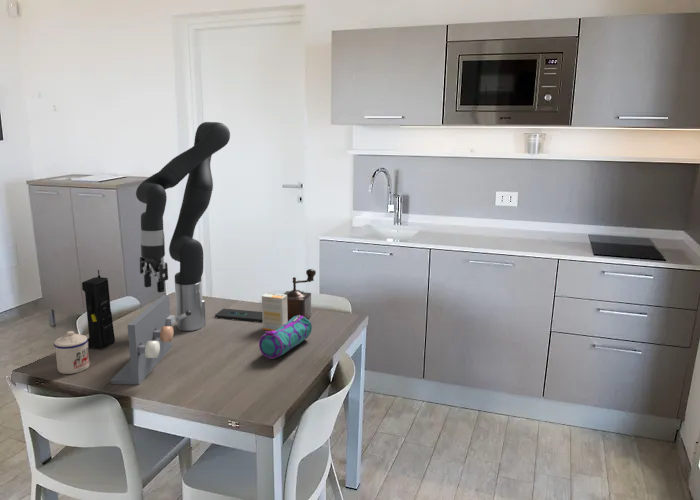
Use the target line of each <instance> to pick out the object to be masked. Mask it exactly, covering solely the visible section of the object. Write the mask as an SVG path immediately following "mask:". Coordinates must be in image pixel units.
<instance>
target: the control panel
mask: <svg viewBox="0 0 700 500" xmlns="http://www.w3.org/2000/svg"><path fill="white" fill-rule="evenodd" d="M170 302H171V301H170V295H169V294H162V295H161V296H160V297H159V298H158V299H157V300H155V301H154V302H153V303H152V304H151V305H149V306H148V307H147V308H146V309H144V310H143V311H142V312H141V313H140V314H138V316H136V317H135V318H134V319H133V320H132V321H130V322H129V323H128V324H127V334H128V346H129V347H128V348H129V349H128V351H129V361H128V363H126V364H125V365H124V366H123V367H122V368H121V369H120V370H119V371H118V372H117V373H116V374H115V375H114V376H113V377H112V378H111V379H110V381H111V383H110V384H113V385H140V384H141V383H142V382H143V381H144V380H145V379H146V377H147V376H148V375H149V374H150V372H152V370H153V369H154V368H155V367H156V366H157V364H159V362H160V361H161V360H162V359H163V358H164V357H165V355H166V354H167V353H168V352H169V351H170V350H171V348H173V340H172V341H171V342H161V340H160V338H153V331H154V330H161V328H162V327H163V326H172V327H173V325H174V324H175V323H176V321H175V318H176V314H175V315H174V314H171V305H170ZM148 341H158V342H159V344H160V351H159V355H158V357H157V358H147V357H146V356H145V353H138V350H137V346H138V345H146V343H147V342H148Z"/></svg>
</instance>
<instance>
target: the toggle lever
mask: <svg viewBox="0 0 700 500" xmlns="http://www.w3.org/2000/svg"><path fill="white" fill-rule="evenodd" d="M190 315H191V311H189V310H188V311H186V312H185V313H184V314H182V315H180V316H178V317H177V316H175V322H177V321H179V320H180V319H182V318H184V317H186V316H190Z"/></svg>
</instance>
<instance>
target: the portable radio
mask: <svg viewBox="0 0 700 500" xmlns="http://www.w3.org/2000/svg"><path fill="white" fill-rule="evenodd" d="M97 273H98V274H97V277H92V278H89V279H88V280H84V281H82V282H81V287H82V288H81V289H82V291H83V292H84V298H85V308H86V316H87V318H86V319H87V327H88V337H87V338H88V348H89V349H98V350H104V349H105V348H107V347H109V346H111V345H112V344H114V343H115V342H116V338H115V330H114V329H115V328H114V324H113V323H114V322H113V313H112V310H111V299H110V289H109V288H110V287H109V279H108V277H103V276H102V277H101V275H100V270H97Z"/></svg>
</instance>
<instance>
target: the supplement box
mask: <svg viewBox="0 0 700 500" xmlns="http://www.w3.org/2000/svg"><path fill="white" fill-rule="evenodd" d="M261 312H262V319H263V322H262V331H268V332H270V331H276V330H277V329H278V328H280V327H281V326H283V325H284V324H286V323H287V322H288V313H287V295H284V293H283V294H282V293H275V292H266V293H264V294H262V295H261Z"/></svg>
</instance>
